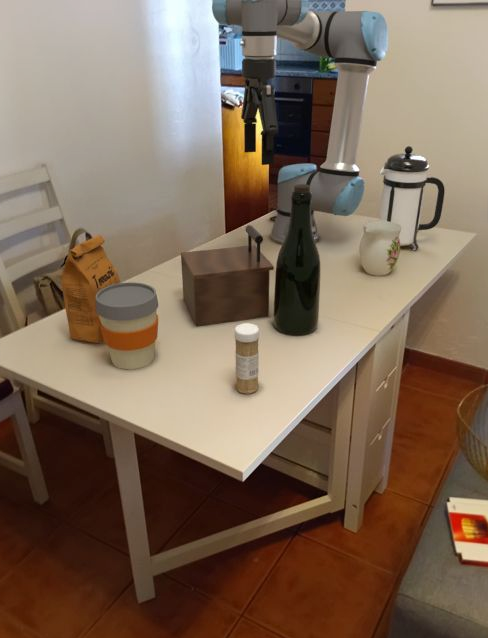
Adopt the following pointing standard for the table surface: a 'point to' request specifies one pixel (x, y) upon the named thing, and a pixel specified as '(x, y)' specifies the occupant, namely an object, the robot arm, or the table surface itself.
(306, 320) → the dark green wine bottle
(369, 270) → the pitcher
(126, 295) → the reusable coffee cup
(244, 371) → the sprinkles bottle
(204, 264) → the lid
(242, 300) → the chest
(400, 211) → the coffee press
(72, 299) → the coffee package
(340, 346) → the table surface
